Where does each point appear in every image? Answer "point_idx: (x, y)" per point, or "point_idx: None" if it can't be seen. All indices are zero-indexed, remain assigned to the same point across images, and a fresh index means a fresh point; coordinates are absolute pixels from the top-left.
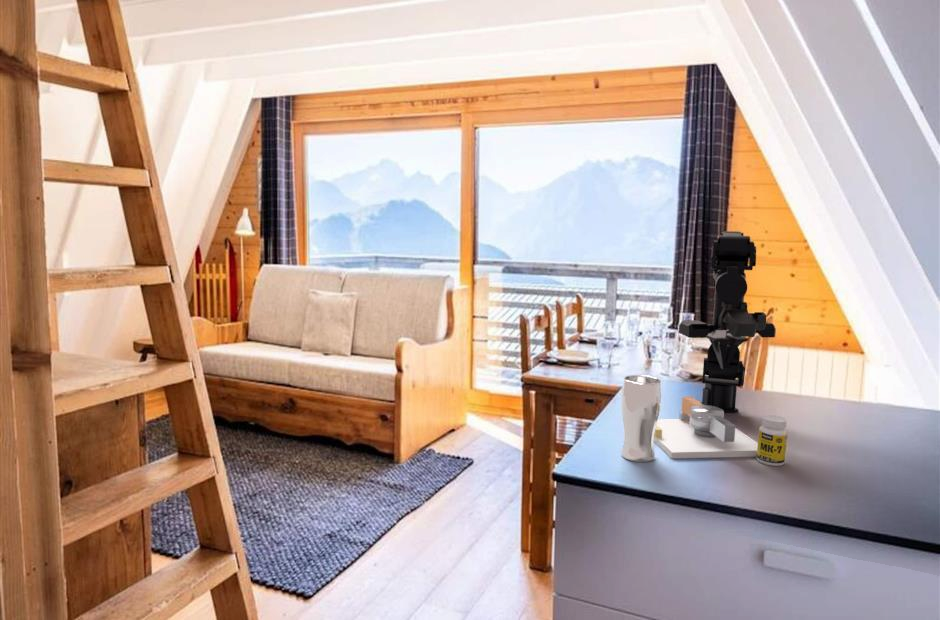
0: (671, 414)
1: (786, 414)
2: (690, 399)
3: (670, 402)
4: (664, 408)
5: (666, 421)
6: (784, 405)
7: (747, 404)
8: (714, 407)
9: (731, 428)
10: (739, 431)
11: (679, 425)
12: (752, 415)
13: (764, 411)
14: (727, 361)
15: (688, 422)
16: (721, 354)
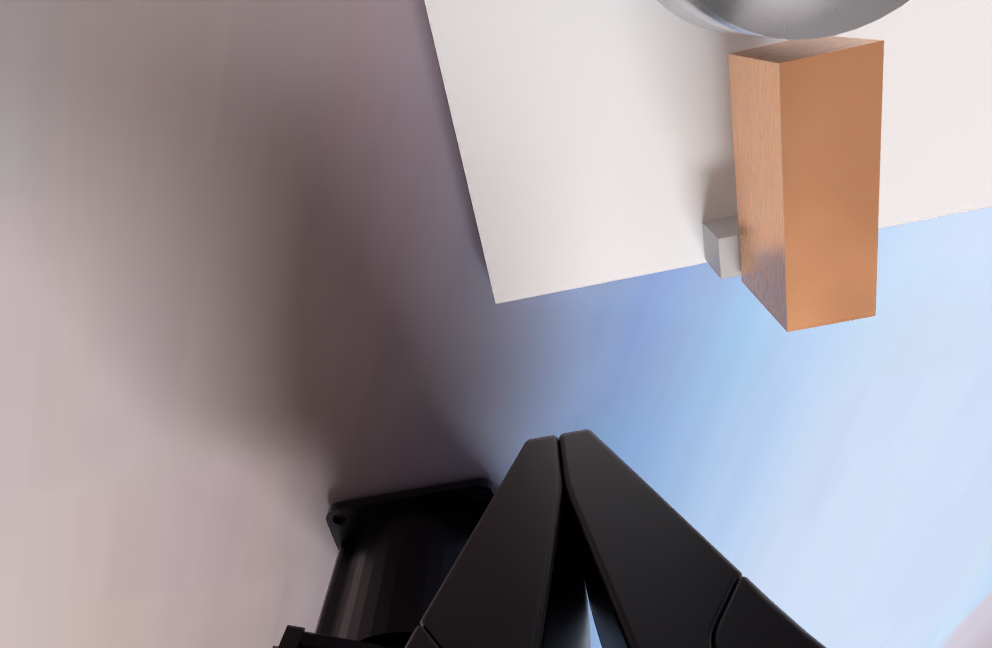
0: (758, 417)
1: (55, 507)
2: (838, 238)
3: None
4: (758, 513)
5: (927, 170)
6: (55, 639)
7: (253, 630)
8: None
9: None
10: (433, 6)
11: None
12: (256, 465)
13: (175, 538)
14: (540, 508)
15: None
16: (748, 583)
